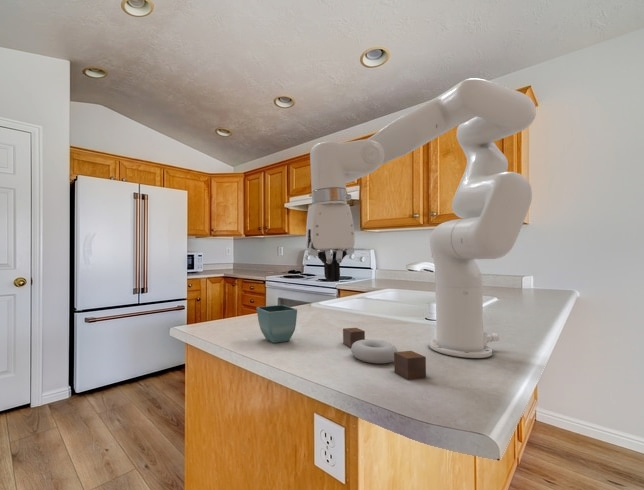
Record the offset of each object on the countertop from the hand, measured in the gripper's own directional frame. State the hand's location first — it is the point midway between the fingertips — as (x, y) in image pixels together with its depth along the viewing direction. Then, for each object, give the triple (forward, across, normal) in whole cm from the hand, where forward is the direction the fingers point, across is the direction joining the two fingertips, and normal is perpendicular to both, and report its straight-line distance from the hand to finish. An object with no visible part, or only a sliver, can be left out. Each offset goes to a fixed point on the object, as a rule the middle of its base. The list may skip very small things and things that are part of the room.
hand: (332, 281), depth 71 cm
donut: (+18, -9, +1) cm, 20 cm away
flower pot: (+18, +8, -19) cm, 27 cm away
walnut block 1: (+18, -10, -10) cm, 23 cm away
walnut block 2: (+18, -10, +11) cm, 24 cm away
